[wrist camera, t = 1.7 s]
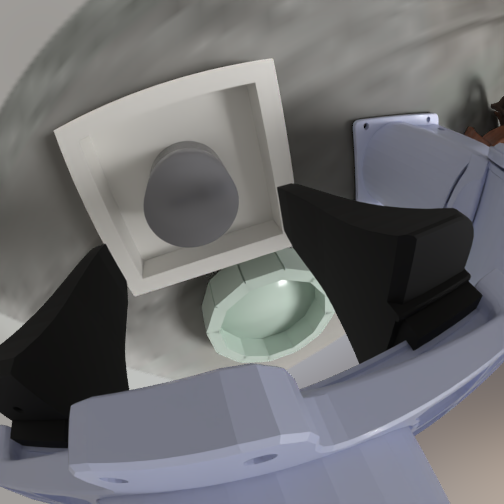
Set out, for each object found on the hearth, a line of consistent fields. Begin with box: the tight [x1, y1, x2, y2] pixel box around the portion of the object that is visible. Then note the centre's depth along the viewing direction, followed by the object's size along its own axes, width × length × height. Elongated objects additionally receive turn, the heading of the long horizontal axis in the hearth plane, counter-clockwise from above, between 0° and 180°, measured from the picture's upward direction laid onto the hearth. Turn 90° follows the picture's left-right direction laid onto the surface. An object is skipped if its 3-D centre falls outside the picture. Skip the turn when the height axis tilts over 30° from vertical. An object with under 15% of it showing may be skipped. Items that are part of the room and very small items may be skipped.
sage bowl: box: [202, 248, 335, 363], centre depth 24 cm, size 11×11×3 cm
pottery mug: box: [464, 96, 504, 147], centre depth 19 cm, size 12×10×8 cm
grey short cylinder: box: [143, 141, 239, 248], centre depth 15 cm, size 5×5×4 cm
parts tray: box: [54, 58, 294, 297], centre depth 16 cm, size 12×12×3 cm
